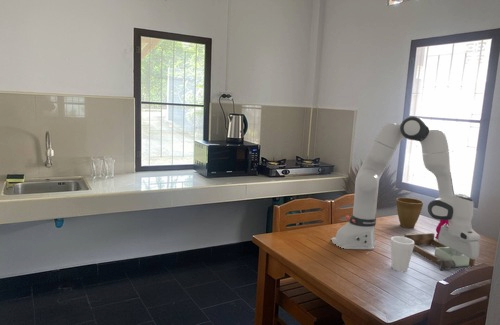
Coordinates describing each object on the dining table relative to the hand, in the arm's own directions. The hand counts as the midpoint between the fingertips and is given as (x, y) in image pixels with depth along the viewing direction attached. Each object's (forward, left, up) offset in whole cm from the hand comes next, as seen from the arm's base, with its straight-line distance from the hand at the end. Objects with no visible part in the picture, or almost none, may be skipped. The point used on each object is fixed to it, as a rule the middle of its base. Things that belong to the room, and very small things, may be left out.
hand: (455, 259), depth 171 cm
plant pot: (+15, +53, -3) cm, 55 cm away
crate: (0, +2, -2) cm, 3 cm away
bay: (-3, +9, -2) cm, 10 cm away
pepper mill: (+21, +31, -3) cm, 38 cm away
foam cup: (-29, 0, -3) cm, 29 cm away
